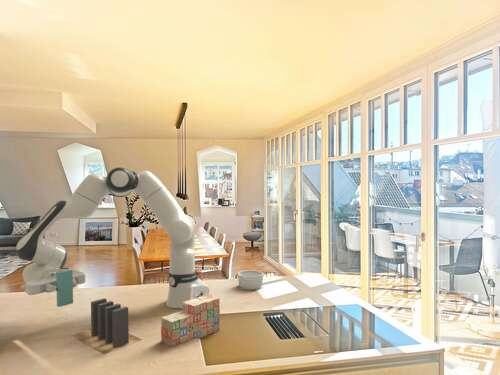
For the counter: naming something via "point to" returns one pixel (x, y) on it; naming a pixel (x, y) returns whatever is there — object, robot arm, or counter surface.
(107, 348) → the oak board
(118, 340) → the domino
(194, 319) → the stack of blocks
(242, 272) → the ramekin
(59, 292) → the domino
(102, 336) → the domino
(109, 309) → the domino
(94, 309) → the domino
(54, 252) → the robot arm
